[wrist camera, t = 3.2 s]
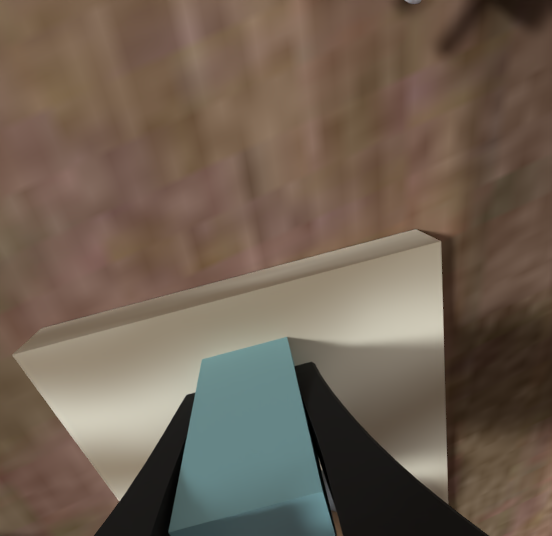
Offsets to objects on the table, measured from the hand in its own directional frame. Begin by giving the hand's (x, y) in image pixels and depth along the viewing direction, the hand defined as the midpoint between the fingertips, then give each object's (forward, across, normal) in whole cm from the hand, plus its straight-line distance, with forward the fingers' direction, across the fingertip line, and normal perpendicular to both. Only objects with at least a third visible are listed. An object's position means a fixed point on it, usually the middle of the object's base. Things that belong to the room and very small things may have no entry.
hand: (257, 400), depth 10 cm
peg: (+1, 0, 0) cm, 1 cm away
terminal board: (+2, 0, +10) cm, 10 cm away
